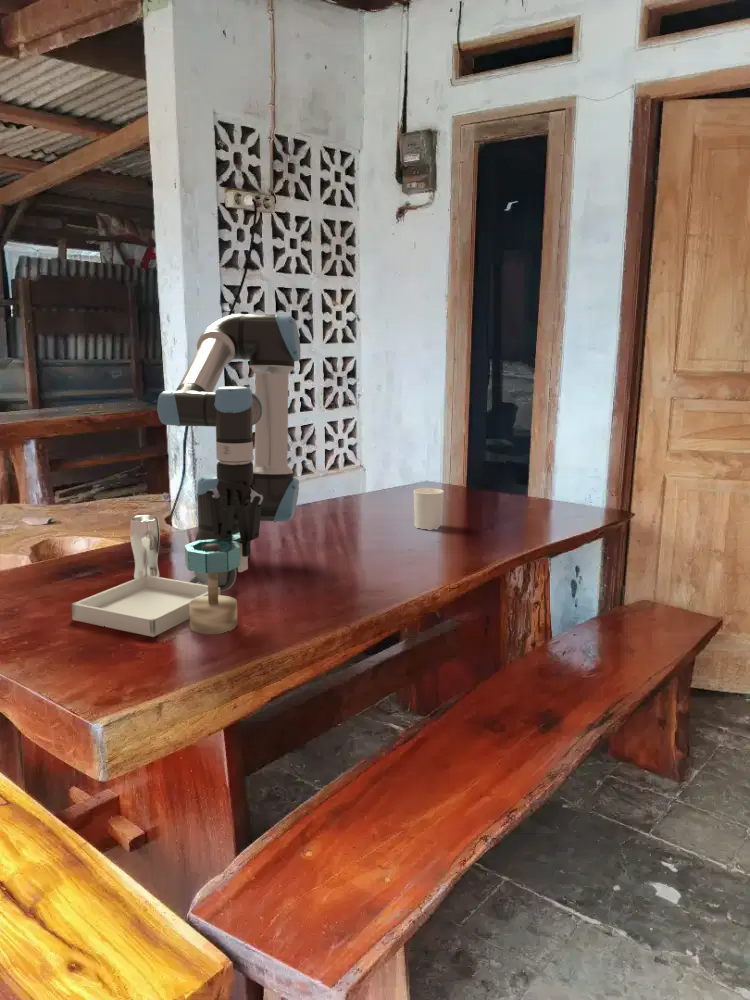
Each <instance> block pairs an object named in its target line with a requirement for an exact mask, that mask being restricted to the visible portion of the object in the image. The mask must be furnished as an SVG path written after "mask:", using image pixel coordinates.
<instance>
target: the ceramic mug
mask: <svg viewBox="0 0 750 1000" xmlns="http://www.w3.org/2000/svg"><path fill="white" fill-rule="evenodd" d="M194 575H195V576H194V577H193V578H191V579H190V580H189V581H188V582H190V583H196V584H198V583H199V584H202V585H208V573H200V572H194ZM236 579H237V568H235V569H233V570H230V571H227V572H218V587H219V588H220V593H223V592H226V591H229V590H230V589H231V588H232V587H233V585H234V584H235V582H236Z"/></svg>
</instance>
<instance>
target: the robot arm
mask: <svg viewBox="0 0 750 1000" xmlns="http://www.w3.org/2000/svg"><path fill="white" fill-rule="evenodd" d="M298 328H299V327H298V325H297V322H296V320H295V318H293V317H292V316H291V315H285V314H283V315H282V314H277V313H275V314H269V313H268V314H265V313H264V314H259V313H258V314H255V313H252V314H249V313H247V314H246V313H236V314H235V313H234V314H229V315H227V316H224V317H222V318H220V319H218V320H216V321H214V322H213V323H212V324H210V325H209V326H207V328H205V329H204V330H203V332H202V333H201V334H200V336H199V338H198V340H197V343H196V350H197V351H196V353H195V355H194V356H193V358H192V360H191V361H190V364H189V366H188V368H187V370H186V371H185V374H184V375H183V377H182V379H181V380H180V382H179V384H178V386H177V388H176V390H165V391H162V392H161V393H159V395H158V398H157V409H156V411H157V415H158V419H159V421H160V423H161V424H163V425H165V426H175V427H214V428H215V445H216V448H215V450H216V453H215V454H216V459H217V461H218V462H217V463H216V472H211V473H208V474H204V475H202V476H201V477H199V478H198V480H197V490H196V496H197V497H196V499H197V524H198V526H197V529H198V530H197V533H196V537H195V540H194V542H195V541H198V540H211V539H225V538H227V537H230V536H232V535H235V534H237V533H240V539H241V540H239V542H237V544H238V545H239V546H240V566H239V567H237V572H238V573H242V572H245V571H246V570H248V569H249V563H248V562H249V561H248V559H249V557H250V555H251V553H252V552H251V541H253V540H255V539H256V540H257V539H258V538H259V537H260V527H261V522H273V523H277V522H290V520H292V519H293V517H294V516H295V512H296V508H297V502H298V498H299V490H300V488H299V486H300V485H299V484H300V481H299V479H298V478H296V477H294V471H293V469H292V468H291V467H290V466H289V465H288V460H289V459H288V457H289V456H288V453H289V452H288V450H289V447H288V446H289V445H288V444H289V442H288V441H289V439H288V438H289V437H288V435H289V434H288V433H289V427H288V426H289V375H290V373H291V372H292V371H293V370H294V369H295V362H300V360H301V357H302V356H301V355H302V354H301V342H300V340H301V339H300V334H299V333H300V332H299V329H298ZM233 360H242V361H244V360H245V361H246V360H248V361H249V368H250V369H251V370H252V371H253V372H254V374H255V382H254V383H255V384H254V385H255V387H254V388H255V389H254V390H255V393H253V392H252V389H251V388H250V387H249V386H242V385H241V386H237V385H236V386H235V385H233V386H232V385H228V386H219V387H217V388H216V386H217V385H218V382H219V380H220V379H221V375H222V373H223V371H224V369H225V367H226V365H229V364H230V363H231V362H232V361H233ZM215 388H216V389H215ZM214 390H215V391H214ZM253 426H255V428H254V431H255V432H254V440H253ZM253 443H254V444H253ZM253 459H254V463H253V462H252V460H253Z"/></svg>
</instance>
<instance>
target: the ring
mask: <svg viewBox="0 0 750 1000" xmlns="http://www.w3.org/2000/svg"><path fill="white" fill-rule="evenodd" d="M239 540H241V539H240V533H237V534H235V535H232V536H230V537H227V538H225V539H211V540H198V541H195V540H194V541H193V542H190V543H188V544H185V545H184V557H185V558H184V561H185V566H186V568H187V570H188V571H189V572H194V573H195V572H200V573H218V572H227V571H230V570H233V569H235V568H236V569H238V567H239V566H240V546H239V545H238V544H237V542H239ZM211 543H215V544H220V551H212V552H205V551H204V545H206V544H211Z"/></svg>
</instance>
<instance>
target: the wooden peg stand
mask: <svg viewBox="0 0 750 1000" xmlns="http://www.w3.org/2000/svg"><path fill="white" fill-rule="evenodd" d="M204 551H205V552H212V551H220V544H215V543H211V544H206V545H204ZM189 607H190V618H189V627H190V630H191V631H193V632H194V633H197V634H202V635H220V634H225V633H228V632H227V631H229V632H231V631H233V630H235V629H236V628H237V627H238V600H237V599H236V598H234V597H233V596H228V595H223V594H222V595H221V594H220V595H218V573H208V596H203V597H199V598H196V599H194V600H192V601H191V602H190V604H189ZM236 626H237V627H236ZM235 627H236V628H235ZM234 628H235V629H234ZM232 629H233V630H232ZM230 630H231V631H230ZM224 632H225V633H224Z"/></svg>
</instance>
